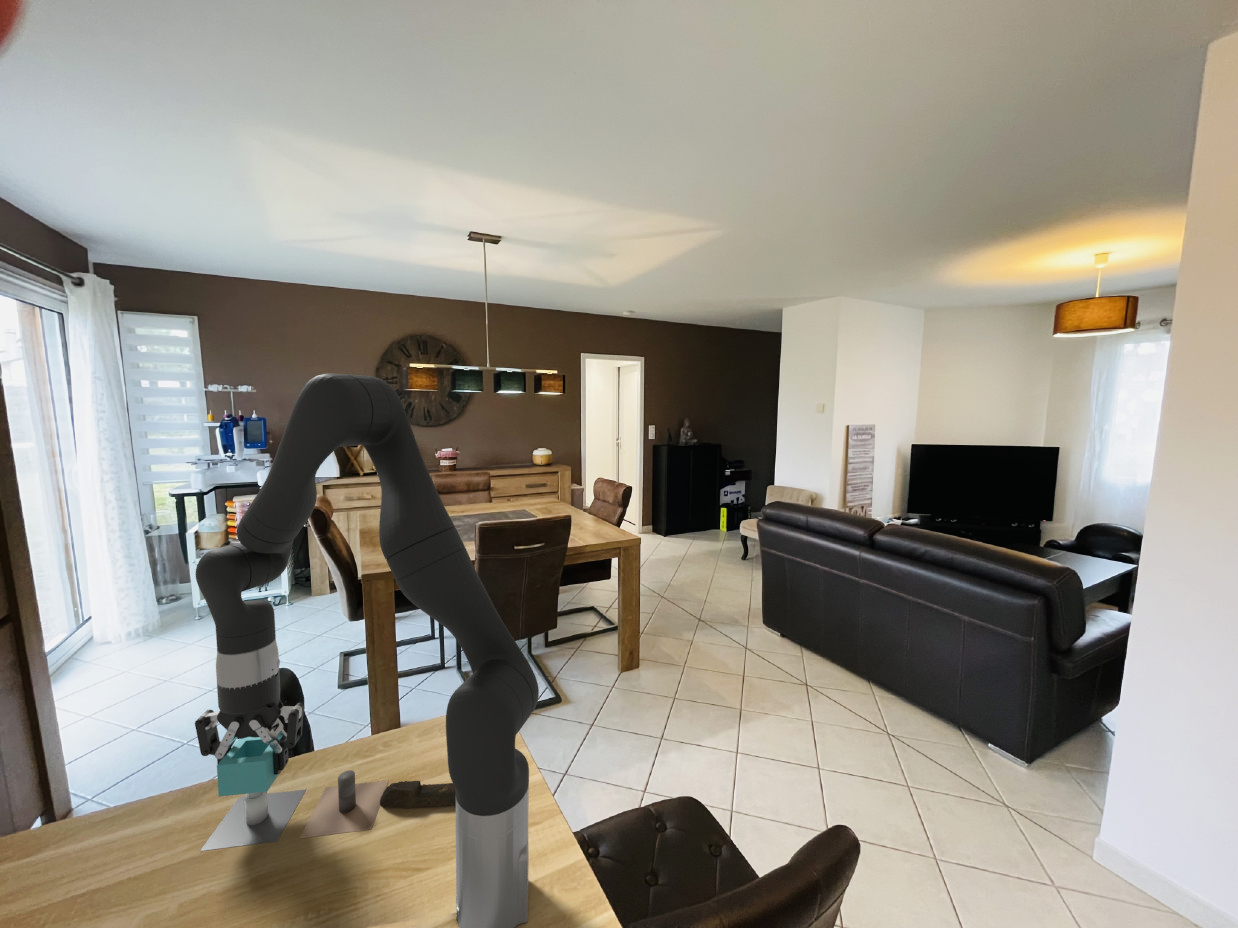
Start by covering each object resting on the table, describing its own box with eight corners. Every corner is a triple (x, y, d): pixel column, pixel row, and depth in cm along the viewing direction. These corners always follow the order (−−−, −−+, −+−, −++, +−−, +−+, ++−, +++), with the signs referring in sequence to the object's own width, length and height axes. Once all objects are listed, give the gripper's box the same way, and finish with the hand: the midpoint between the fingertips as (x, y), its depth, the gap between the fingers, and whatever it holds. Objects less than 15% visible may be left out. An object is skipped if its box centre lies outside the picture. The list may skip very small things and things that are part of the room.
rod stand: (389, 785, 85) (388, 750, 84) (371, 834, 75) (370, 796, 74) (326, 792, 83) (324, 757, 82) (299, 844, 73) (297, 804, 72)
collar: (287, 760, 79) (286, 732, 79) (267, 791, 73) (265, 760, 72) (243, 765, 78) (241, 736, 77) (218, 796, 72) (216, 765, 71)
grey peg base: (306, 794, 82) (305, 759, 81) (277, 846, 72) (275, 807, 72) (239, 802, 80) (237, 765, 79) (200, 856, 70) (197, 816, 70)
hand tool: (500, 793, 84) (500, 768, 83) (496, 812, 80) (496, 786, 79) (387, 798, 82) (386, 773, 82) (377, 818, 78) (376, 791, 78)
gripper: (176, 689, 68) (184, 798, 70) (290, 681, 71) (294, 786, 73) (210, 662, 76) (216, 761, 77) (311, 655, 78) (315, 751, 80)
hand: (254, 772), depth 75 cm, fingers closed on collar, 6 cm apart
